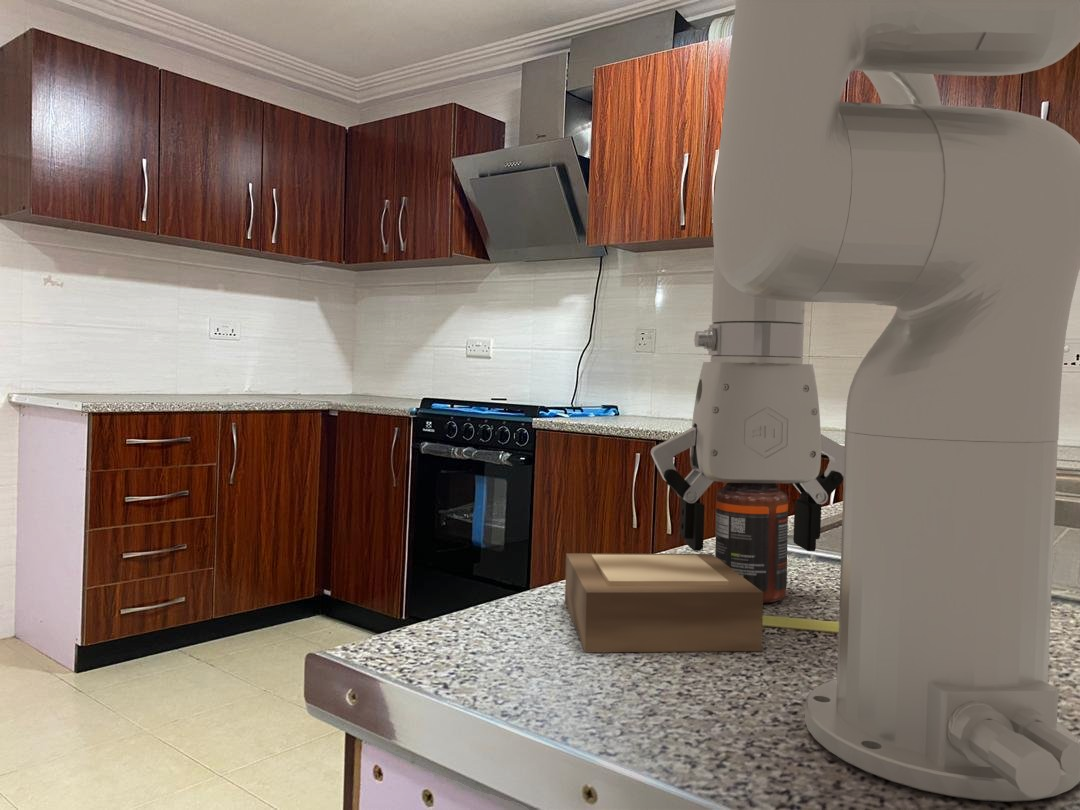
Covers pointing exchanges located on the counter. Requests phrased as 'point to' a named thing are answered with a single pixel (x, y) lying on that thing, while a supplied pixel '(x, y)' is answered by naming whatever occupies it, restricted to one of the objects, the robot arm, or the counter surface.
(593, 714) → the counter surface
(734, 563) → the supplement bottle
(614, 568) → the base slab
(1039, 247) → the robot arm
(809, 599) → the counter surface
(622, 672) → the counter surface
